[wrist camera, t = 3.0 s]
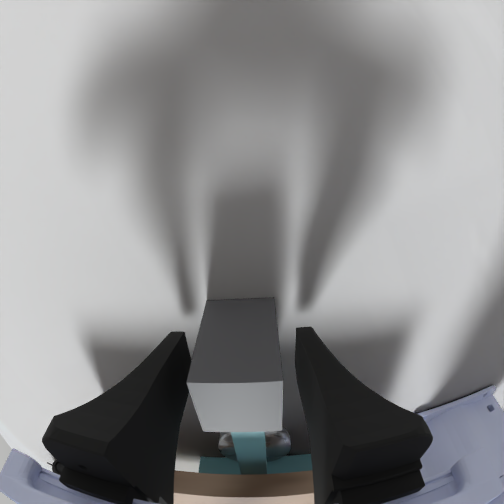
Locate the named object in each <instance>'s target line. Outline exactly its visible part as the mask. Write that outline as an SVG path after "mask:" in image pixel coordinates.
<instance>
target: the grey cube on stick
mask: <svg viewBox="0 0 504 504" xmlns="http://www.w3.org/2000/svg"><path fill="white" fill-rule="evenodd" d="M187 386H188V389H189V392H190V395H191V398H192V401H193V404H194V407H195V410H196V413H197V416H198V419H199V422H200V424H201V427H202V430H203V432H231V435H232V440H233V444H234V448H235V452H236V456H237V460H238V461H234V460H231V459H229V458H221V457H201V458H200V465H199V473H209V474H241V475H244V474H276V473H290V472H301V471H310V470H312V460H311V454H303V455H292V456H284V457H282V458H280V459H278V460H275V461H271V462H267V458H266V441H265V431H282V414H283V375H282V366H281V356H280V347H279V338H278V329H277V321H276V312H275V303H274V297H273V298H255V299H233V300H207V301H206V305H205V309H204V313H203V317H202V321H201V325H200V329H199V333H198V337H197V341H196V345H195V349H194V353H193V357H192V361H191V366H190V370H189V374H188V378H187Z"/></svg>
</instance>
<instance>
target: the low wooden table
mask: <svg viewBox="0 0 504 504" xmlns="http://www.w3.org/2000/svg"><path fill="white" fill-rule="evenodd" d="M174 504H314V485H313V471H312V470H310V471H301V472H290V473H276V474H244V475H241V474H209V473H195V472H184V471H175V473H174Z"/></svg>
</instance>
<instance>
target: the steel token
mask: <svg viewBox="0 0 504 504" xmlns="http://www.w3.org/2000/svg"><path fill="white" fill-rule="evenodd" d="M265 441H266V458H267V462H271V461H275V460H278V459H280V458H282V457H284V456H285V455H287V454H288V453H289V451H290V450H291V441H290V434H289V432H288V431H287V430H286V429H285V428H284V427H282V431H265ZM218 449H219V451H220V452H221V454H223V455H224V456H225V457H227V458H229V459H231V460H234V461H238V460H237V456H236V452H235V448H234V444H233V440H232V435H231V432H221V433H220V435H219V445H218Z"/></svg>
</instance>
